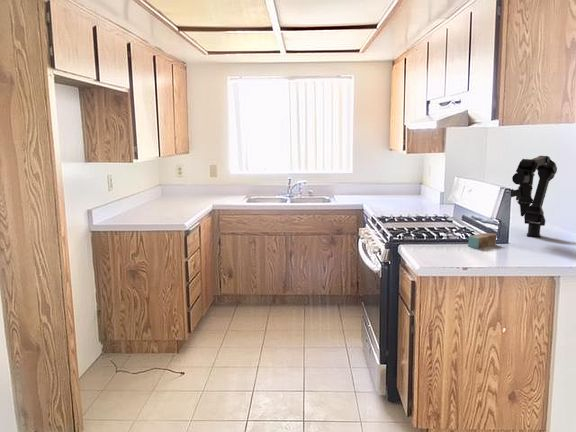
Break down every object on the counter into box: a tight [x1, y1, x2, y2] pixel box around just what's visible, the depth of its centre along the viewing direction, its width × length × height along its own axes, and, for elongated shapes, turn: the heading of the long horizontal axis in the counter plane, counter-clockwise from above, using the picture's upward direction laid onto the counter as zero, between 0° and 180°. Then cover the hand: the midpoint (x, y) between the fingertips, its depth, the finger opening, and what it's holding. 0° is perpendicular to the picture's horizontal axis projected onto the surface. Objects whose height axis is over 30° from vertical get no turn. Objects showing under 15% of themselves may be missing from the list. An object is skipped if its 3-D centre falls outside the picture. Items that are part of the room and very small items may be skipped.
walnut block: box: [467, 232, 497, 250], centre depth 238 cm, size 5×5×14 cm
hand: (522, 216), depth 247 cm, fingers closed
